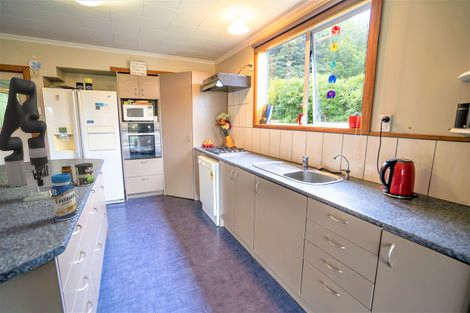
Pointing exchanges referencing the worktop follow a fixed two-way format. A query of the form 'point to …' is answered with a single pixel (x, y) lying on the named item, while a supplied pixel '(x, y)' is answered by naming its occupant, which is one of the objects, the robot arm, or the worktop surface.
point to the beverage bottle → (63, 197)
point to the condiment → (67, 171)
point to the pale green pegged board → (38, 195)
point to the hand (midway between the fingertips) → (42, 184)
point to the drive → (33, 183)
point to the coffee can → (84, 174)
